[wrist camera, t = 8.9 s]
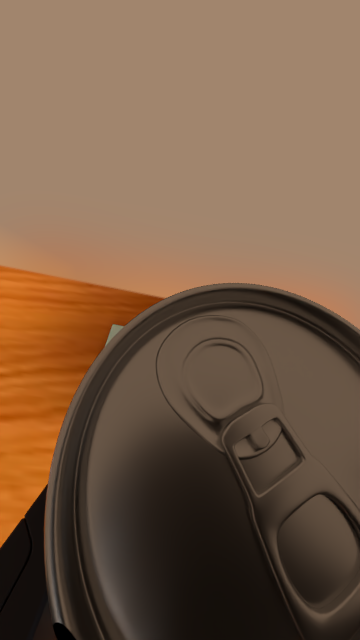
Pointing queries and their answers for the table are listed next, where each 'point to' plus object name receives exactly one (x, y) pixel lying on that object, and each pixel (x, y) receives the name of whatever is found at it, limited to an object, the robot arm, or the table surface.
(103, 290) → the table surface
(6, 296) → the table surface
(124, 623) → the can
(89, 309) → the table surface
